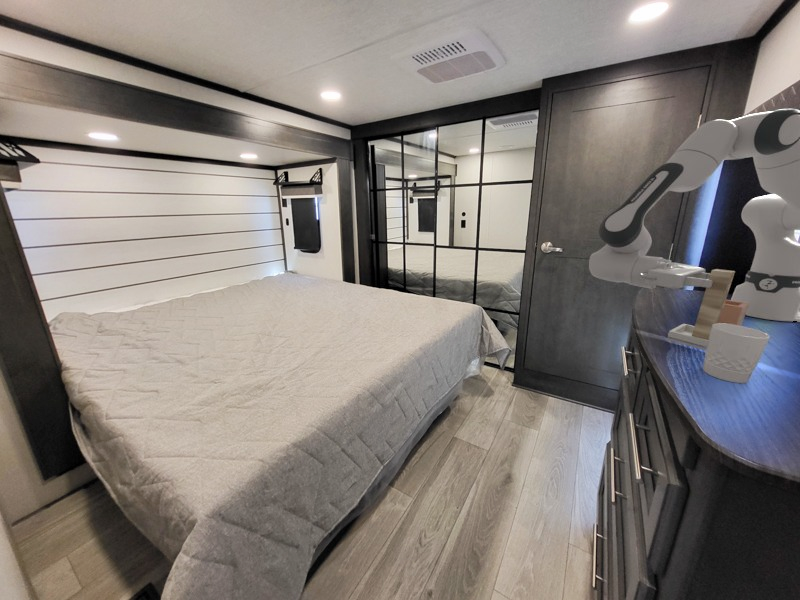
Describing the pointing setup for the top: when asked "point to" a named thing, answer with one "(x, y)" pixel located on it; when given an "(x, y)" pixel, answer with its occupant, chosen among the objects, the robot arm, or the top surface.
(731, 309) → the terracotta cup
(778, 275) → the robot arm
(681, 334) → the grey tray
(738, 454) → the top surface
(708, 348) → the white cup
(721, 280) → the birch stick
